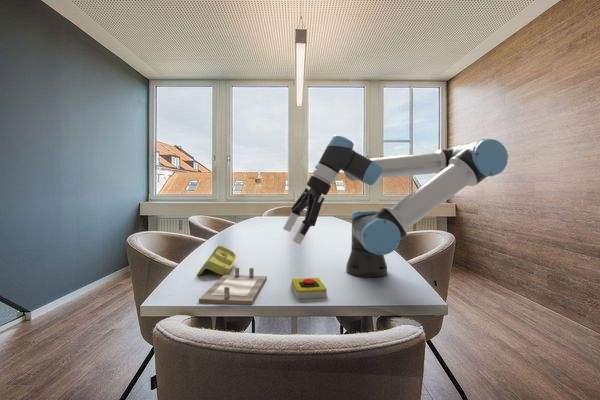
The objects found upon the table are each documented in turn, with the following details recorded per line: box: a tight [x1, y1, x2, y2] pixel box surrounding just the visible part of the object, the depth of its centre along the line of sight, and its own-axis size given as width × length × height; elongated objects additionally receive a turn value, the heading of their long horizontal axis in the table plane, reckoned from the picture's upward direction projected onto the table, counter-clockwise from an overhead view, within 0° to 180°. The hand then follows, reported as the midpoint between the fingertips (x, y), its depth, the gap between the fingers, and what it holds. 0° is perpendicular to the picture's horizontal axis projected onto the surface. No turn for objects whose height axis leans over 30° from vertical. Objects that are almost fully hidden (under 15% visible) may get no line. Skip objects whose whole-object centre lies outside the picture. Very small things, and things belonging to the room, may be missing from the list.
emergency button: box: [289, 277, 329, 303], centre depth 97 cm, size 9×4×15 cm
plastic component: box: [197, 245, 237, 276], centre depth 122 cm, size 20×7×10 cm
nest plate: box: [198, 266, 268, 305], centre depth 99 cm, size 23×15×4 cm, turn 176°
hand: (290, 236), depth 105 cm, fingers open, 13 cm apart
